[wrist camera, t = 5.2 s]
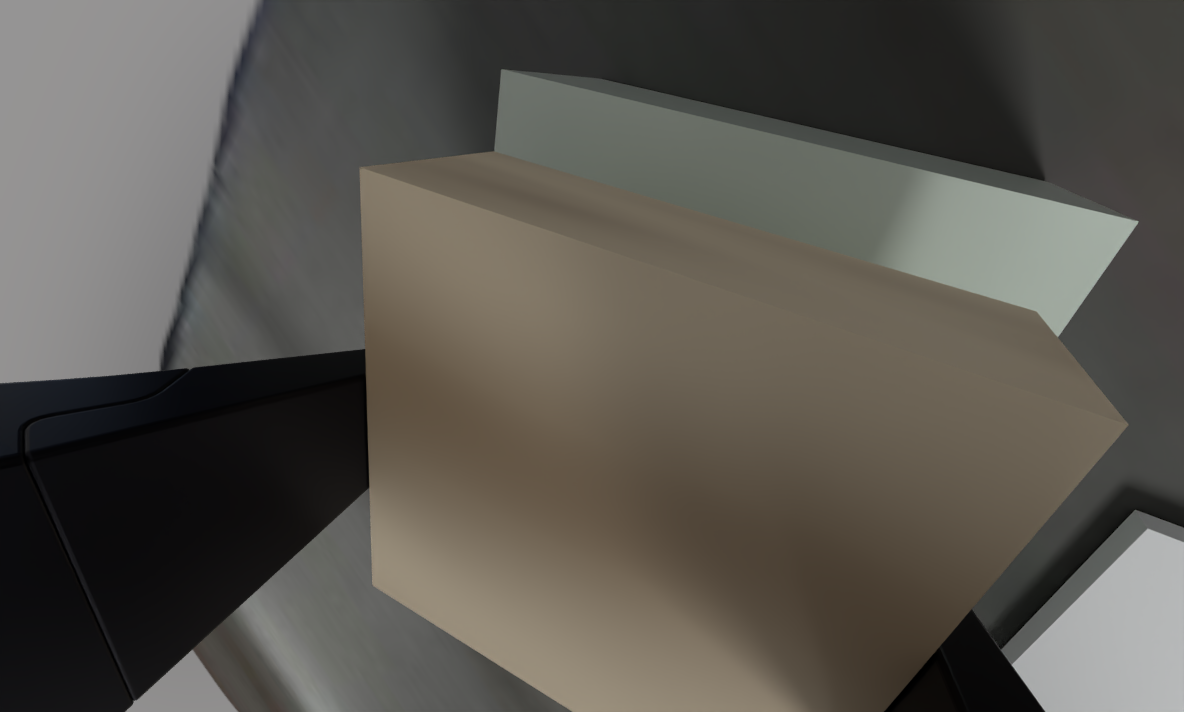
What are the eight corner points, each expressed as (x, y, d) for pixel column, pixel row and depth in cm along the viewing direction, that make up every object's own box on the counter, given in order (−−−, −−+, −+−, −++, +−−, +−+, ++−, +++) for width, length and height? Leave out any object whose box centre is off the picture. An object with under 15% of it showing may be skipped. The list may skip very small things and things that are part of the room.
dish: (841, 528, 14) (833, 657, 11) (545, 398, 17) (466, 469, 13) (1047, 181, 10) (1138, 221, 6) (599, 78, 12) (501, 69, 9)
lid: (796, 675, 9) (774, 839, 7) (463, 498, 11) (372, 585, 9) (1035, 311, 6) (1129, 424, 4) (493, 151, 8) (359, 168, 6)
